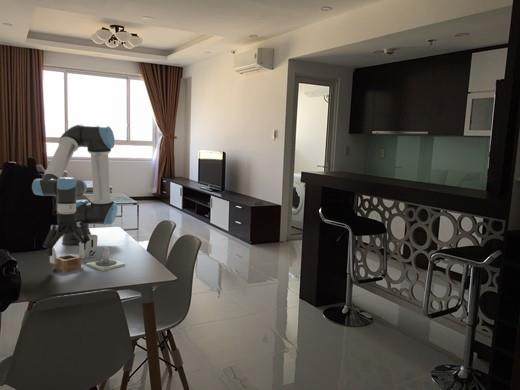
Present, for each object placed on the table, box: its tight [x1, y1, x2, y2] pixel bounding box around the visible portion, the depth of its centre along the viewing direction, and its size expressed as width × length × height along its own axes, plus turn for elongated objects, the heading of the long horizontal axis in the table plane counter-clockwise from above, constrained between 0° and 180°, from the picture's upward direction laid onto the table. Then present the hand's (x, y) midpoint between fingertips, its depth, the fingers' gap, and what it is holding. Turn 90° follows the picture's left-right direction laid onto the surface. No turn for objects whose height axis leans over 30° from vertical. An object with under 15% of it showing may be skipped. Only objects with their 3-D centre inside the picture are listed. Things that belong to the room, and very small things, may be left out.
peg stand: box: [86, 246, 126, 272], centre depth 196 cm, size 12×12×8 cm
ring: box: [53, 253, 82, 273], centre depth 190 cm, size 8×8×5 cm
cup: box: [80, 234, 98, 258], centre depth 209 cm, size 8×8×10 cm
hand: (67, 260), depth 189 cm, fingers open, 13 cm apart
